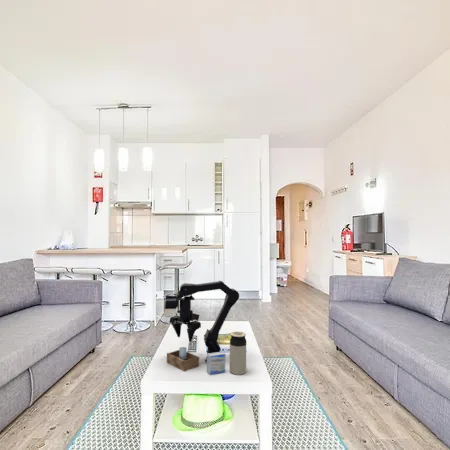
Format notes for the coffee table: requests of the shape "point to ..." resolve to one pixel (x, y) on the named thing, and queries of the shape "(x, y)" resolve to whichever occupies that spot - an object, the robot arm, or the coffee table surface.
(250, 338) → the coffee table surface
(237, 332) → the travel mug
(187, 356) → the caddy
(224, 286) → the robot arm
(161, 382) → the coffee table surface
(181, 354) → the peg
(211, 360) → the medicine box
